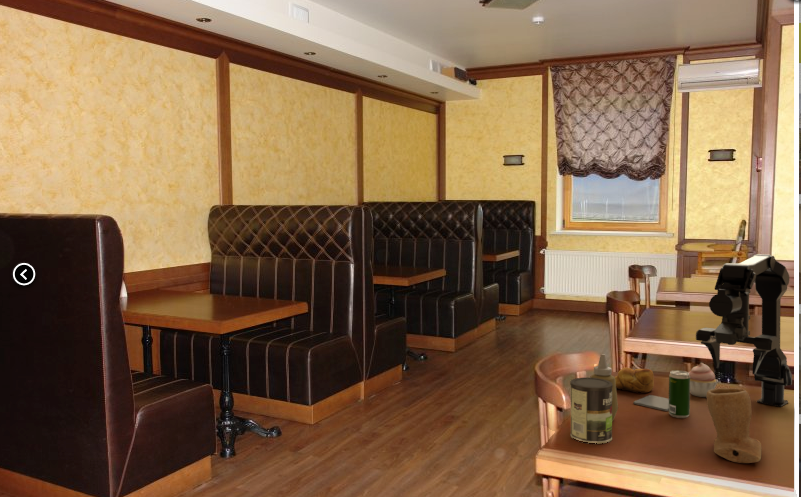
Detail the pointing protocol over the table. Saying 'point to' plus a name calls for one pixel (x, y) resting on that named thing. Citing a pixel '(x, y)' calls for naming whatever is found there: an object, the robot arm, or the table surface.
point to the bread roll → (635, 380)
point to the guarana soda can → (679, 394)
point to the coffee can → (591, 410)
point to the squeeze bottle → (605, 373)
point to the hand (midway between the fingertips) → (735, 370)
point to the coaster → (654, 402)
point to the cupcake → (701, 380)
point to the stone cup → (733, 425)
